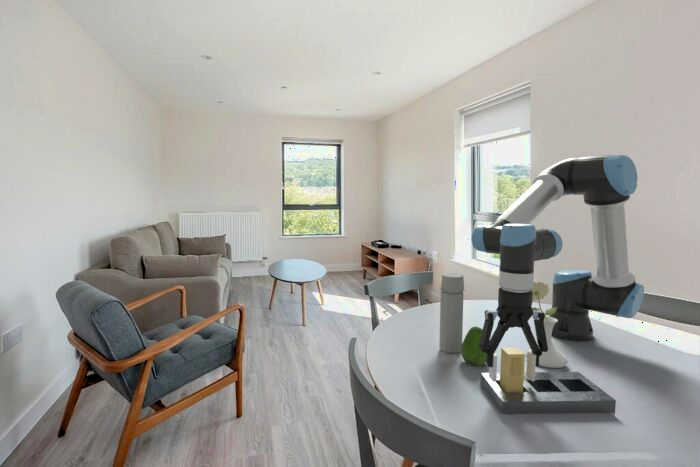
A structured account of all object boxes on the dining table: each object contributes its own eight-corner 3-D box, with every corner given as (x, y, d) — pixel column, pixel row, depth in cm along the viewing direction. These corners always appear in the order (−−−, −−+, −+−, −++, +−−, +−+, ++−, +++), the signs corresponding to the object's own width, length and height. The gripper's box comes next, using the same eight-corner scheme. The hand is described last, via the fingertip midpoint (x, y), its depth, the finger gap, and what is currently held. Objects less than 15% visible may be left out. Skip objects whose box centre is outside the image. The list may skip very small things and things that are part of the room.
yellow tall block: (515, 393, 96) (517, 347, 95) (523, 403, 92) (526, 355, 90) (499, 393, 96) (501, 347, 95) (507, 403, 92) (509, 355, 90)
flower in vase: (563, 358, 119) (568, 279, 116) (571, 374, 108) (576, 288, 105) (517, 352, 123) (521, 276, 120) (521, 368, 112) (524, 284, 110)
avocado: (485, 373, 109) (486, 333, 107) (457, 367, 113) (458, 327, 112) (491, 363, 115) (492, 324, 114) (465, 357, 120) (466, 320, 118)
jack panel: (577, 386, 102) (578, 371, 101) (614, 416, 88) (615, 400, 87) (480, 387, 101) (480, 372, 101) (502, 418, 87) (502, 401, 87)
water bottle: (464, 355, 121) (466, 278, 118) (438, 353, 122) (440, 277, 120) (461, 344, 130) (463, 272, 127) (437, 342, 131) (439, 271, 129)
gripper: (551, 284, 95) (546, 371, 98) (465, 285, 95) (463, 371, 97) (569, 292, 88) (563, 385, 90) (476, 292, 87) (473, 386, 90)
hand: (511, 378), depth 94 cm, fingers open, 9 cm apart
